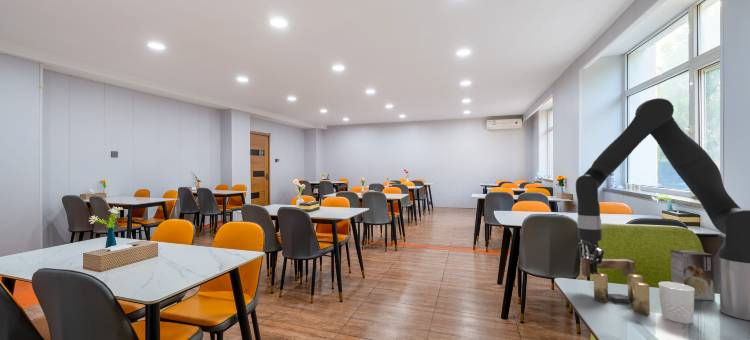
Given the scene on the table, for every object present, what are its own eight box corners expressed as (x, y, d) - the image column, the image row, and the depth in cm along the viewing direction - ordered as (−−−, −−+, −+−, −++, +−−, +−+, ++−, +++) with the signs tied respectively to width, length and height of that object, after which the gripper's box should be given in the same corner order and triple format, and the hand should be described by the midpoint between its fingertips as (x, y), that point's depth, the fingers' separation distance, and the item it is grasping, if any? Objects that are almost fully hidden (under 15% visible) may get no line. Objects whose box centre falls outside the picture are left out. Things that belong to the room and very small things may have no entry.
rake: (587, 277, 115) (586, 261, 115) (580, 273, 120) (579, 257, 120) (635, 278, 113) (634, 262, 113) (626, 274, 118) (625, 258, 118)
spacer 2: (637, 299, 109) (637, 274, 109) (646, 304, 105) (645, 277, 105) (625, 299, 109) (624, 273, 110) (633, 303, 105) (632, 277, 106)
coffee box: (700, 294, 113) (699, 250, 114) (715, 301, 107) (714, 254, 108) (671, 292, 115) (670, 249, 116) (684, 299, 109) (682, 253, 110)
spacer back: (643, 310, 100) (643, 282, 101) (653, 315, 96) (652, 286, 97) (630, 309, 101) (629, 281, 101) (639, 314, 97) (638, 285, 97)
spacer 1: (603, 298, 110) (603, 272, 110) (610, 302, 106) (610, 276, 106) (591, 297, 111) (591, 272, 111) (598, 302, 107) (597, 276, 107)
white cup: (703, 326, 90) (702, 291, 90) (671, 323, 91) (670, 289, 91) (682, 314, 97) (681, 282, 98) (653, 312, 99) (652, 280, 99)
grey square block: (620, 299, 110) (620, 294, 110) (628, 304, 105) (628, 298, 106) (607, 299, 110) (607, 293, 110) (615, 304, 106) (615, 298, 106)
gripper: (611, 230, 110) (613, 278, 110) (589, 224, 124) (591, 267, 123) (588, 230, 111) (590, 278, 111) (569, 224, 125) (571, 267, 124)
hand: (591, 272), depth 117 cm, fingers closed on rake, 3 cm apart
